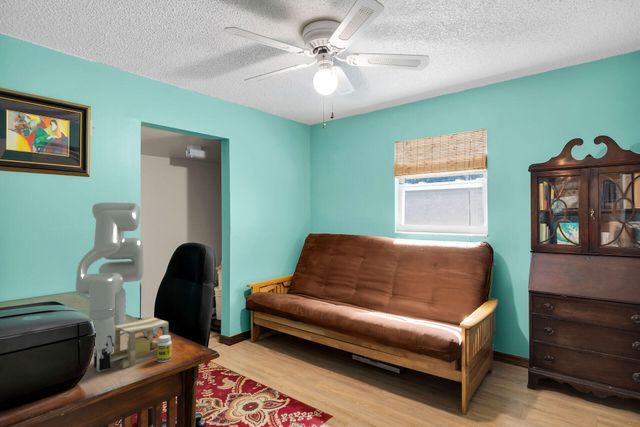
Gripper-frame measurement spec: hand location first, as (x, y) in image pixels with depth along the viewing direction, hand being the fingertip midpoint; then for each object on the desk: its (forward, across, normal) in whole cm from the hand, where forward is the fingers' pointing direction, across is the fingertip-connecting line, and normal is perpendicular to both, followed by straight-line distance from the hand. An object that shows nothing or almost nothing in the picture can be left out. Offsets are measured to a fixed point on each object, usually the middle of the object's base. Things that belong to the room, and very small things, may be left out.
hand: (102, 367), depth 117 cm
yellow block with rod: (+1, 0, +7) cm, 7 cm away
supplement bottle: (+1, +10, +17) cm, 19 cm away
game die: (+1, -17, +27) cm, 32 cm away
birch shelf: (+1, 0, +14) cm, 14 cm away
